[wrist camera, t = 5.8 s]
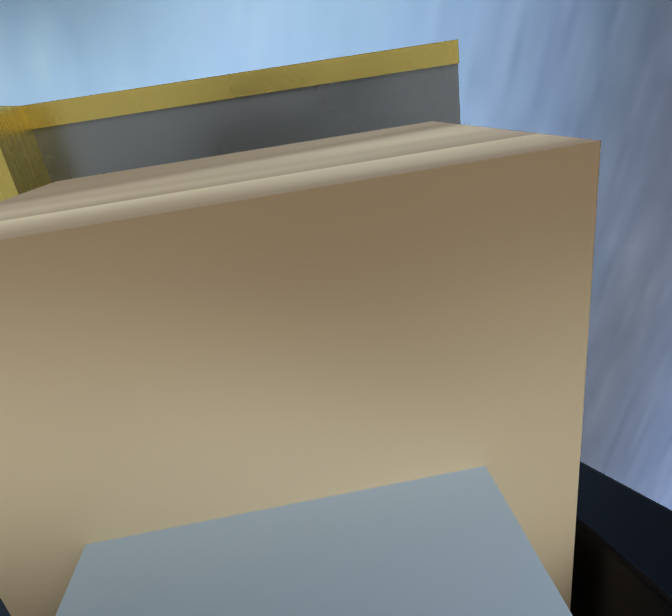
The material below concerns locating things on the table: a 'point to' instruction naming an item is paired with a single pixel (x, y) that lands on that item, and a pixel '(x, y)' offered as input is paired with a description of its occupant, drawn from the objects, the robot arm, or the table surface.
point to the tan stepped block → (293, 337)
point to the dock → (226, 114)
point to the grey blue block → (330, 559)
